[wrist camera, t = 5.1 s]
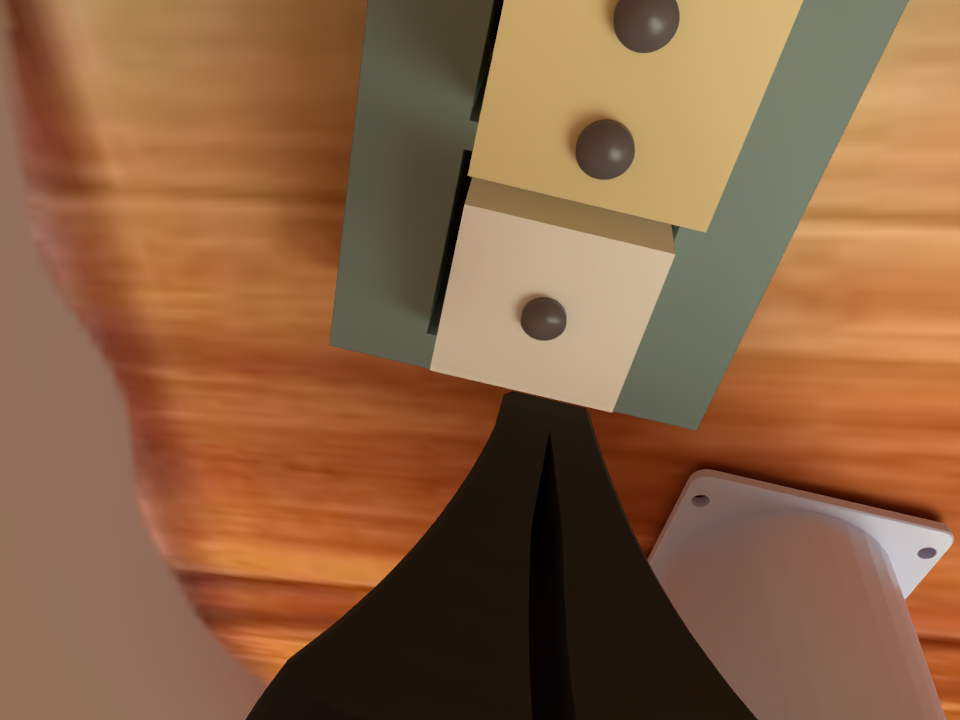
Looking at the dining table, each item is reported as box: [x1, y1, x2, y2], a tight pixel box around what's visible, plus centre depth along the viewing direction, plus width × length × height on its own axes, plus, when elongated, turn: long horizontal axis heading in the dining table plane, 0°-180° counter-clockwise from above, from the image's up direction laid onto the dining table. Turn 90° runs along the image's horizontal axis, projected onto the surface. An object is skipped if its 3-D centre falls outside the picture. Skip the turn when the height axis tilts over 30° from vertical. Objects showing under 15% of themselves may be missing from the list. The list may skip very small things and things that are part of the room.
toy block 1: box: [468, 0, 803, 233], centre depth 14 cm, size 4×4×5 cm
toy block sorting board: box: [330, 0, 909, 431], centre depth 16 cm, size 17×9×3 cm, turn 168°
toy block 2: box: [430, 177, 675, 413], centre depth 18 cm, size 4×4×5 cm
